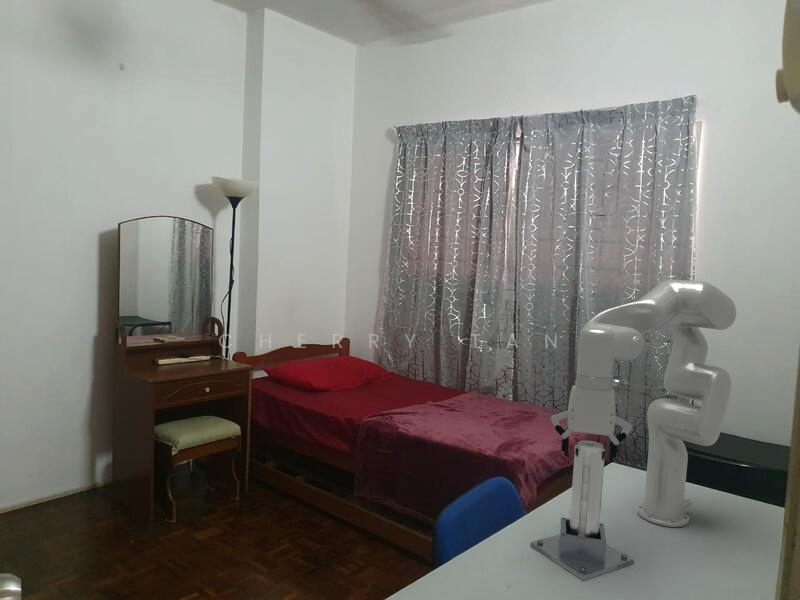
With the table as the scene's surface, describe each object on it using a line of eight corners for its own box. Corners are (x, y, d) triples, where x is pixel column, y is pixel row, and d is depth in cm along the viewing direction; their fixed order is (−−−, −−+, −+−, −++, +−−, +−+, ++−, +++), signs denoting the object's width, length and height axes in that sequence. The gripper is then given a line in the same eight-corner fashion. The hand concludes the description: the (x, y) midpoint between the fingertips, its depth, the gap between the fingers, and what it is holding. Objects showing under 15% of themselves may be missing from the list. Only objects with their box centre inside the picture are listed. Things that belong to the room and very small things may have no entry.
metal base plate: (579, 532, 144) (580, 509, 144) (633, 563, 131) (635, 537, 130) (530, 546, 136) (532, 521, 136) (583, 580, 123) (585, 553, 122)
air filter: (603, 553, 133) (611, 445, 131) (584, 560, 129) (592, 450, 127) (580, 540, 138) (588, 437, 136) (561, 547, 135) (569, 441, 133)
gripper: (632, 383, 132) (627, 457, 133) (553, 375, 136) (548, 447, 138) (637, 390, 125) (631, 468, 126) (553, 382, 129) (548, 457, 130)
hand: (588, 457), depth 132 cm, fingers open, 9 cm apart
